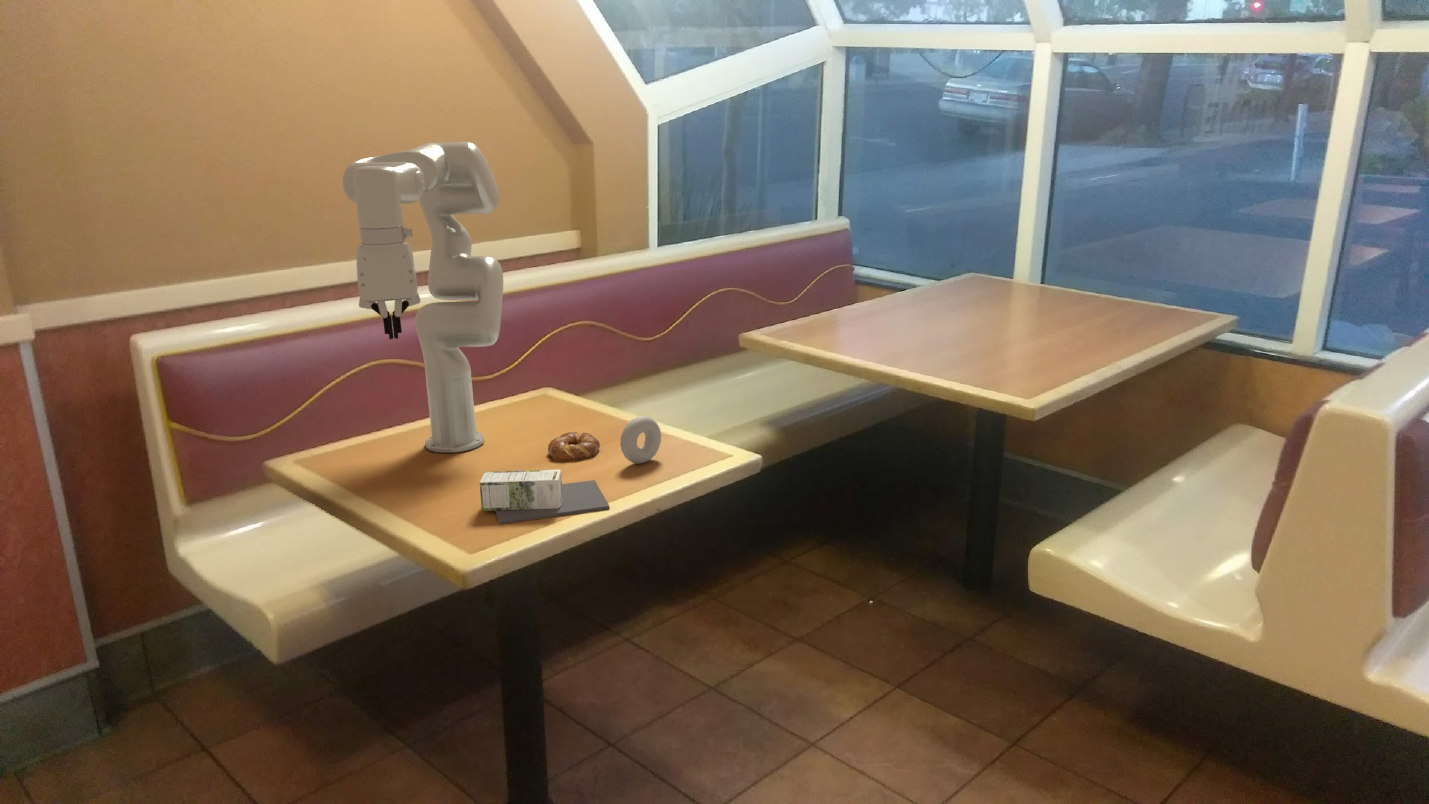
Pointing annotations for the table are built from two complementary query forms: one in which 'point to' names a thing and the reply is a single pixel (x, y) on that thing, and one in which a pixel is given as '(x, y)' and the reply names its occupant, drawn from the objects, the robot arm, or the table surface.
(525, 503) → the syrup box
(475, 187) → the robot arm
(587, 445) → the pretzel
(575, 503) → the mat
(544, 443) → the table surface
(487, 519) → the table surface
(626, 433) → the donut
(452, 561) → the table surface
